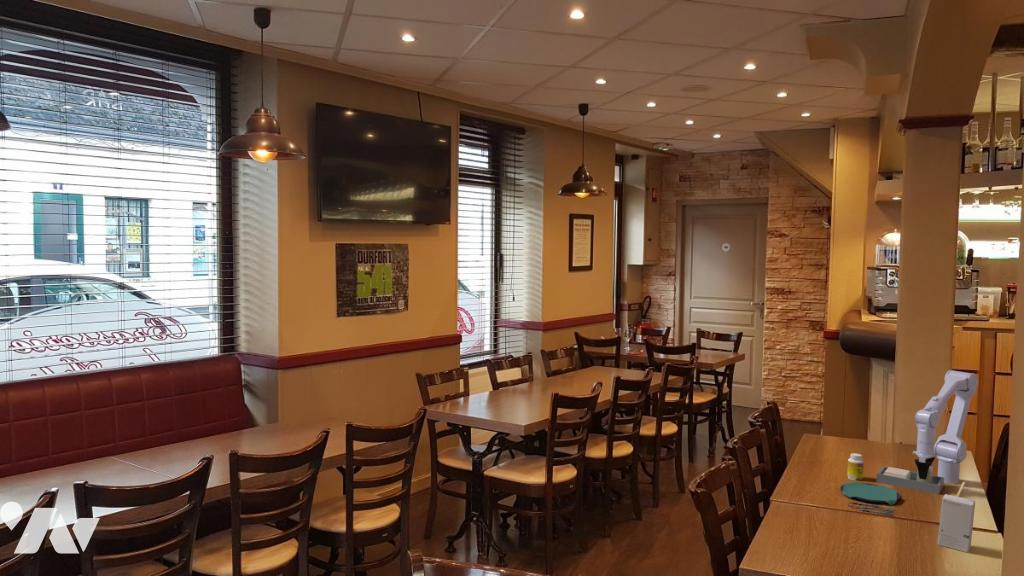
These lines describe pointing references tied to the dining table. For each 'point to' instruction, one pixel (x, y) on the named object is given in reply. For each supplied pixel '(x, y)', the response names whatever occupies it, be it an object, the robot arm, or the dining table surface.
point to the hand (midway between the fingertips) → (923, 476)
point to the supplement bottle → (855, 467)
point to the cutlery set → (871, 495)
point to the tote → (911, 482)
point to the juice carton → (929, 476)
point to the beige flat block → (898, 473)
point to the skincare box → (956, 523)
